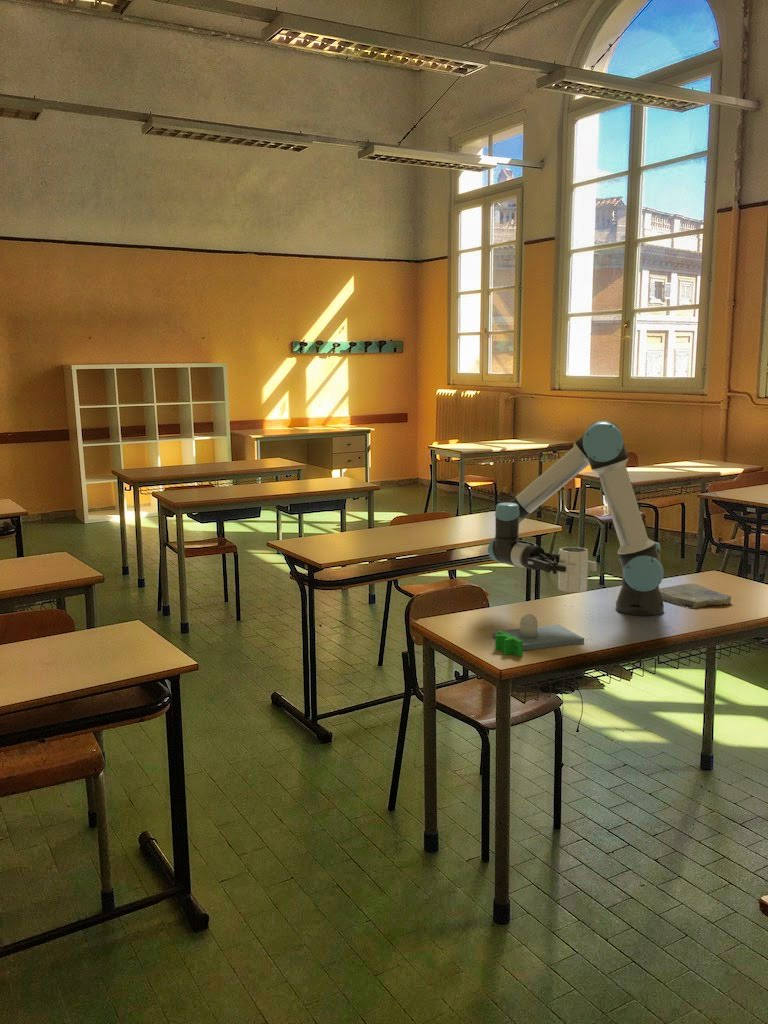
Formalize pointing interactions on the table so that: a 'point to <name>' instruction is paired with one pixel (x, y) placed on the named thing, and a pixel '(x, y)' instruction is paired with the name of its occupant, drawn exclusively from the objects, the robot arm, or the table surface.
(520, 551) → the robot arm
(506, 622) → the table surface
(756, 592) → the table surface
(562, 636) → the base
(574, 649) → the table surface
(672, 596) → the fossil
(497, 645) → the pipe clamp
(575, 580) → the sleeve
